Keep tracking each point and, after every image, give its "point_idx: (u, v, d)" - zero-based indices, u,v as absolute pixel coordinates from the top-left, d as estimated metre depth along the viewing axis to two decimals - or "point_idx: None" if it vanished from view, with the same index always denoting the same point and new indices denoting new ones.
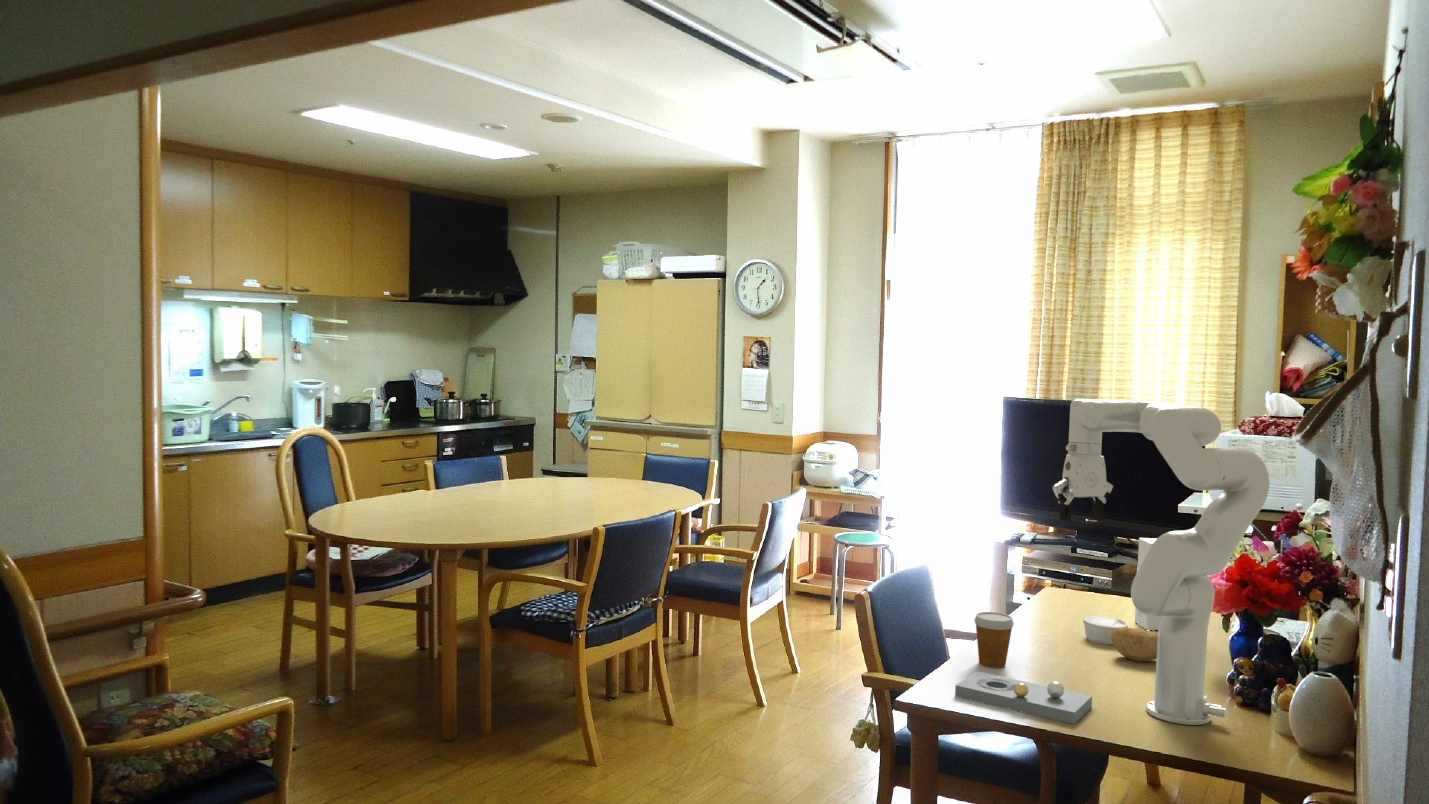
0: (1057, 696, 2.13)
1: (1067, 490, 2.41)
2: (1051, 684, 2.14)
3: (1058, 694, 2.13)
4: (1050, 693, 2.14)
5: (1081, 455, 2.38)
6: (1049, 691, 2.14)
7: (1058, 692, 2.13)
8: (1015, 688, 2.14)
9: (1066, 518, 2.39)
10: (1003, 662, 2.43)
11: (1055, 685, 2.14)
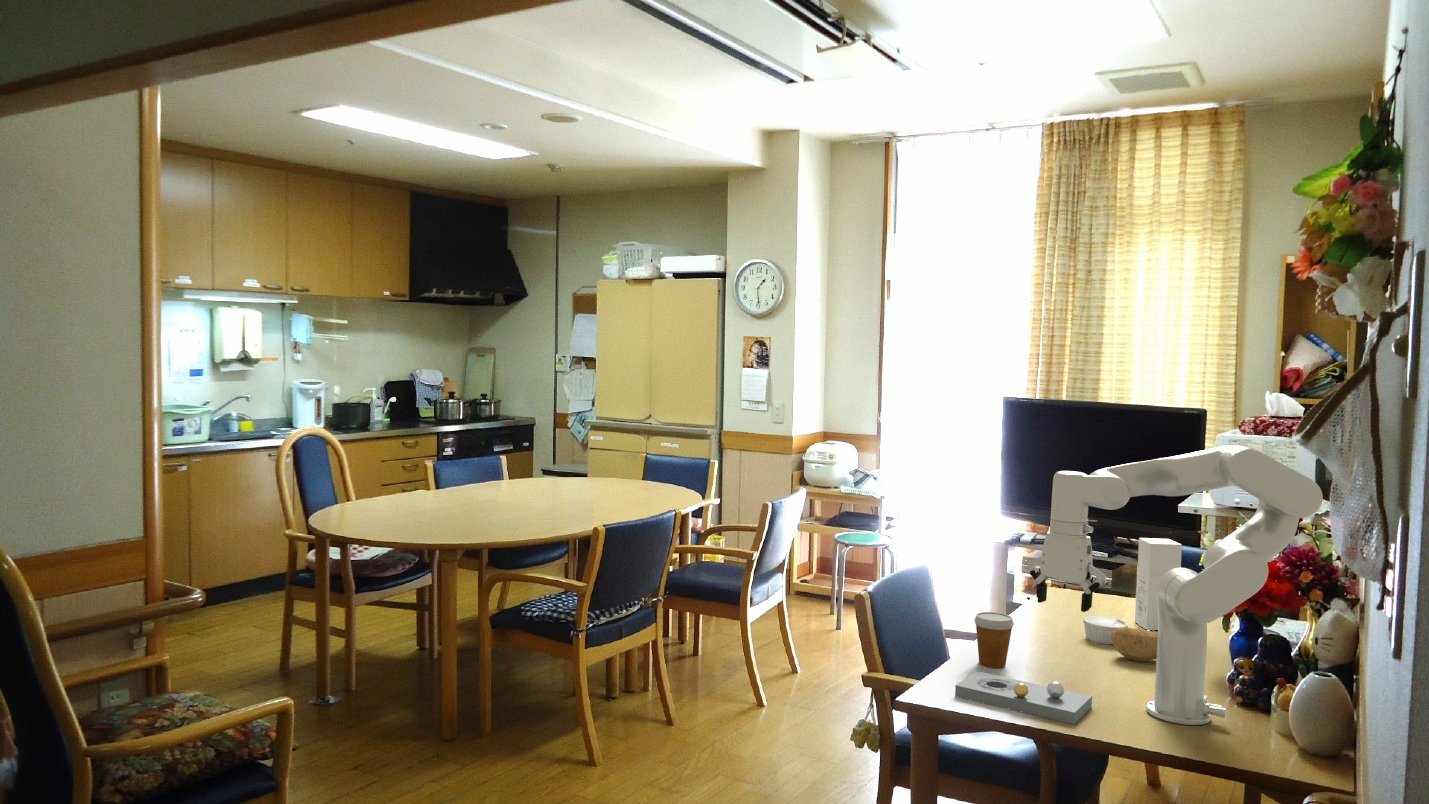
0: (1057, 696, 2.13)
1: None
2: (1051, 684, 2.14)
3: (1058, 694, 2.13)
4: (1050, 693, 2.14)
5: None
6: (1049, 691, 2.14)
7: (1058, 692, 2.13)
8: (1015, 688, 2.14)
9: (1088, 607, 2.13)
10: (1003, 662, 2.43)
11: (1055, 685, 2.14)
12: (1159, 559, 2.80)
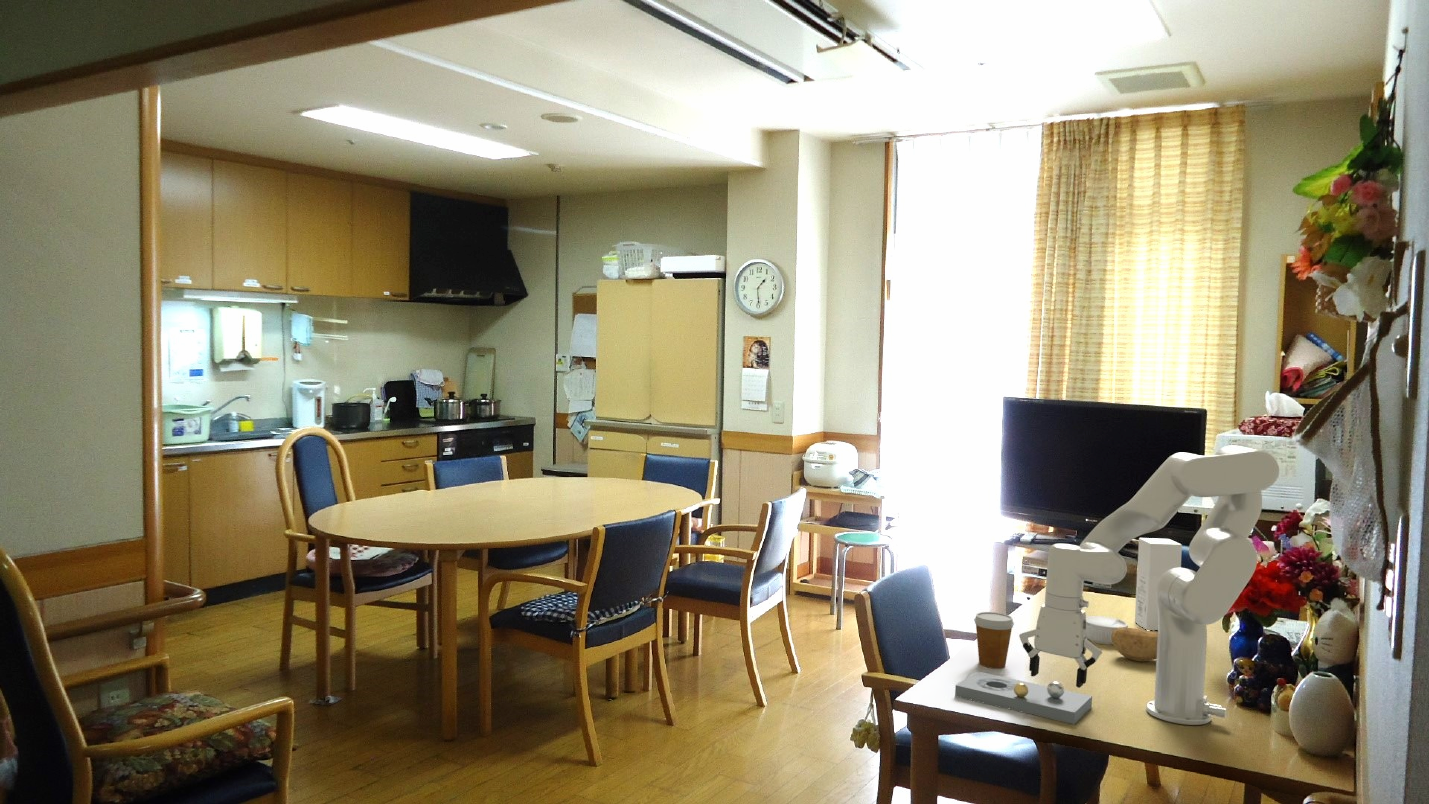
0: (1057, 696, 2.13)
1: None
2: (1051, 684, 2.14)
3: (1058, 694, 2.13)
4: (1050, 693, 2.14)
5: None
6: (1049, 691, 2.14)
7: (1058, 692, 2.13)
8: (1015, 688, 2.14)
9: (1082, 682, 2.12)
10: (1003, 662, 2.43)
11: (1055, 685, 2.14)
12: (1159, 559, 2.80)
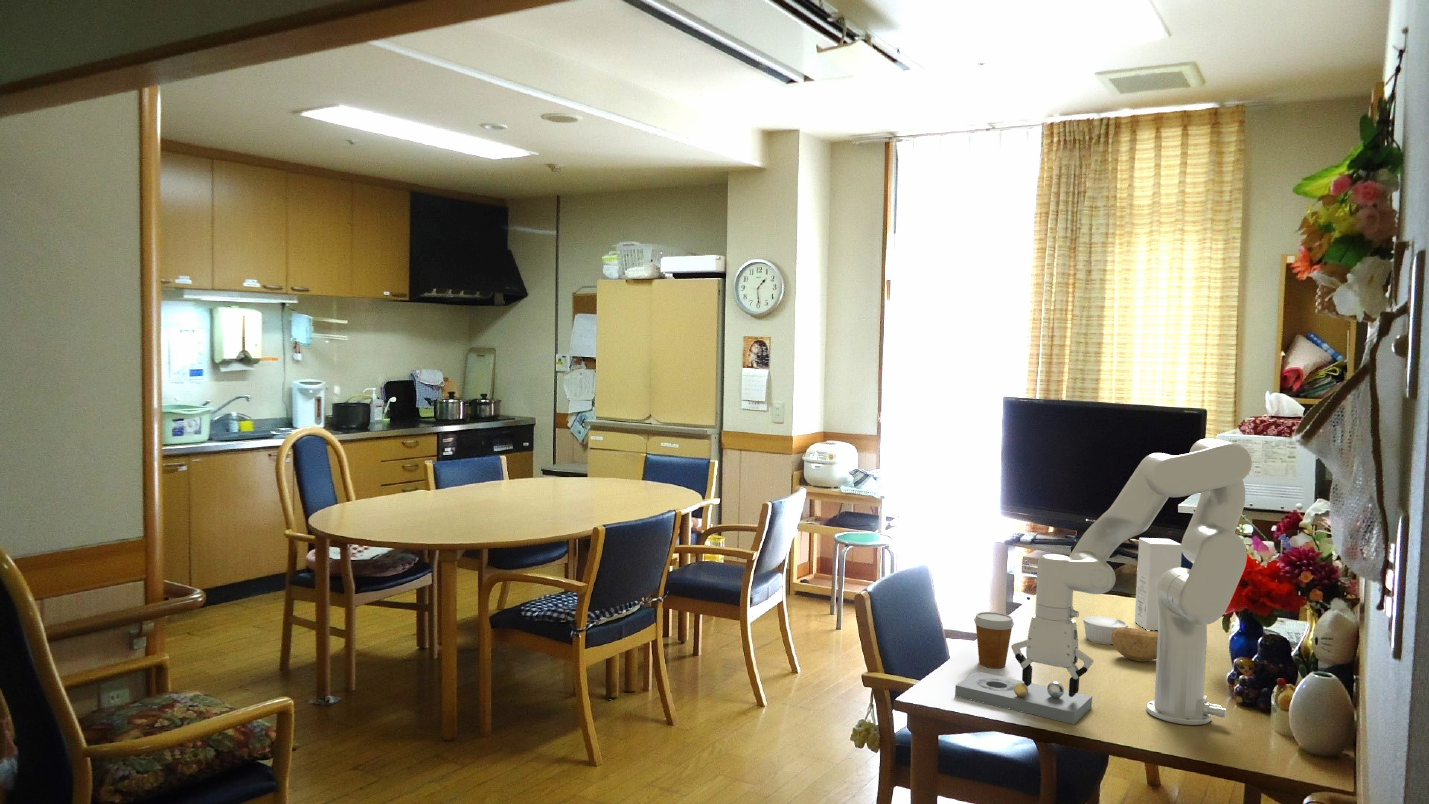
0: (1057, 696, 2.13)
1: None
2: (1051, 684, 2.14)
3: (1058, 694, 2.13)
4: (1050, 693, 2.14)
5: None
6: (1049, 691, 2.14)
7: (1058, 692, 2.13)
8: (1015, 688, 2.14)
9: None
10: (1003, 662, 2.43)
11: (1055, 685, 2.14)
12: (1159, 559, 2.80)
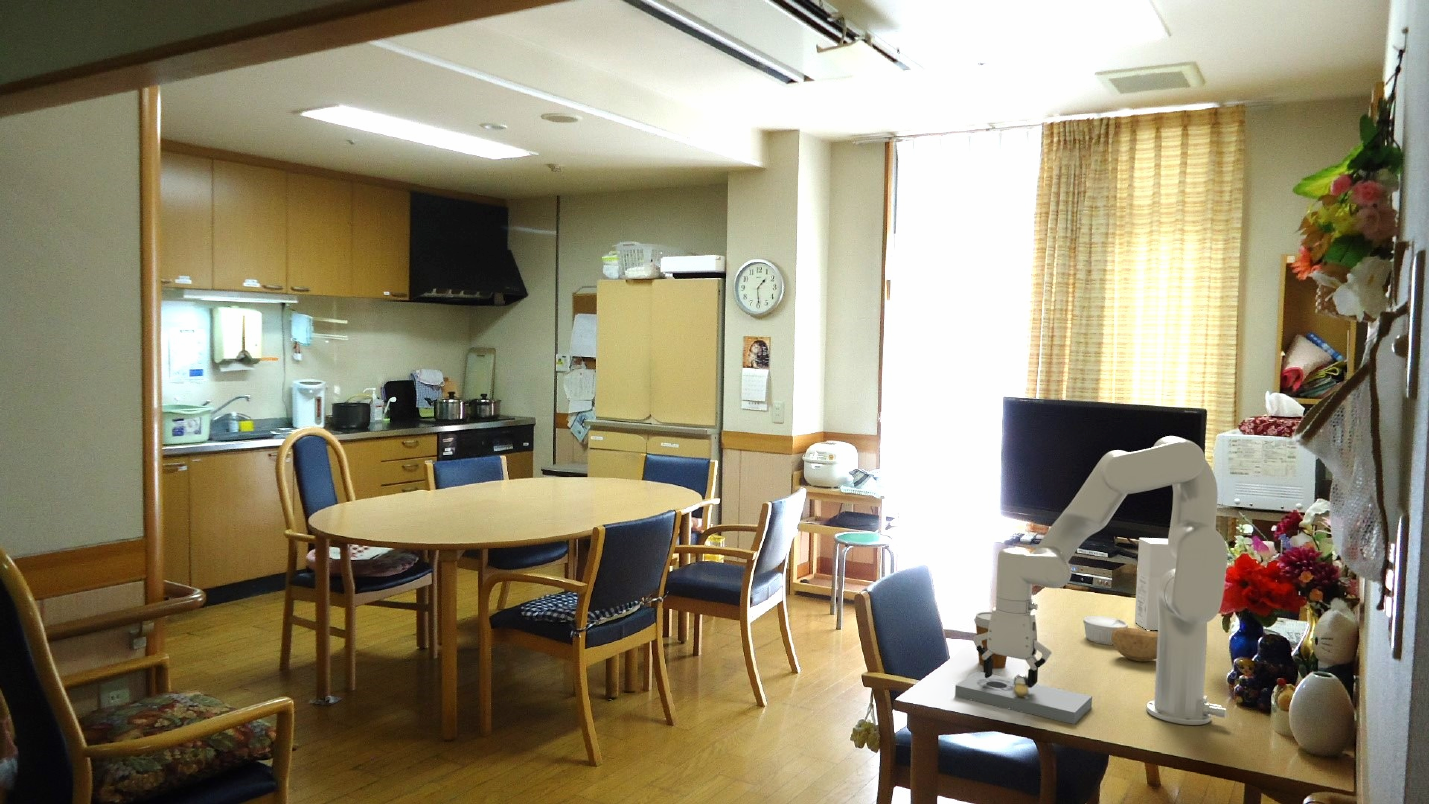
0: (1014, 683, 2.19)
1: None
2: (1026, 685, 2.18)
3: None
4: (1018, 680, 2.18)
5: None
6: (1020, 680, 2.18)
7: None
8: (1015, 688, 2.14)
9: (1034, 682, 2.18)
10: (1003, 662, 2.43)
11: None
12: (1159, 559, 2.80)
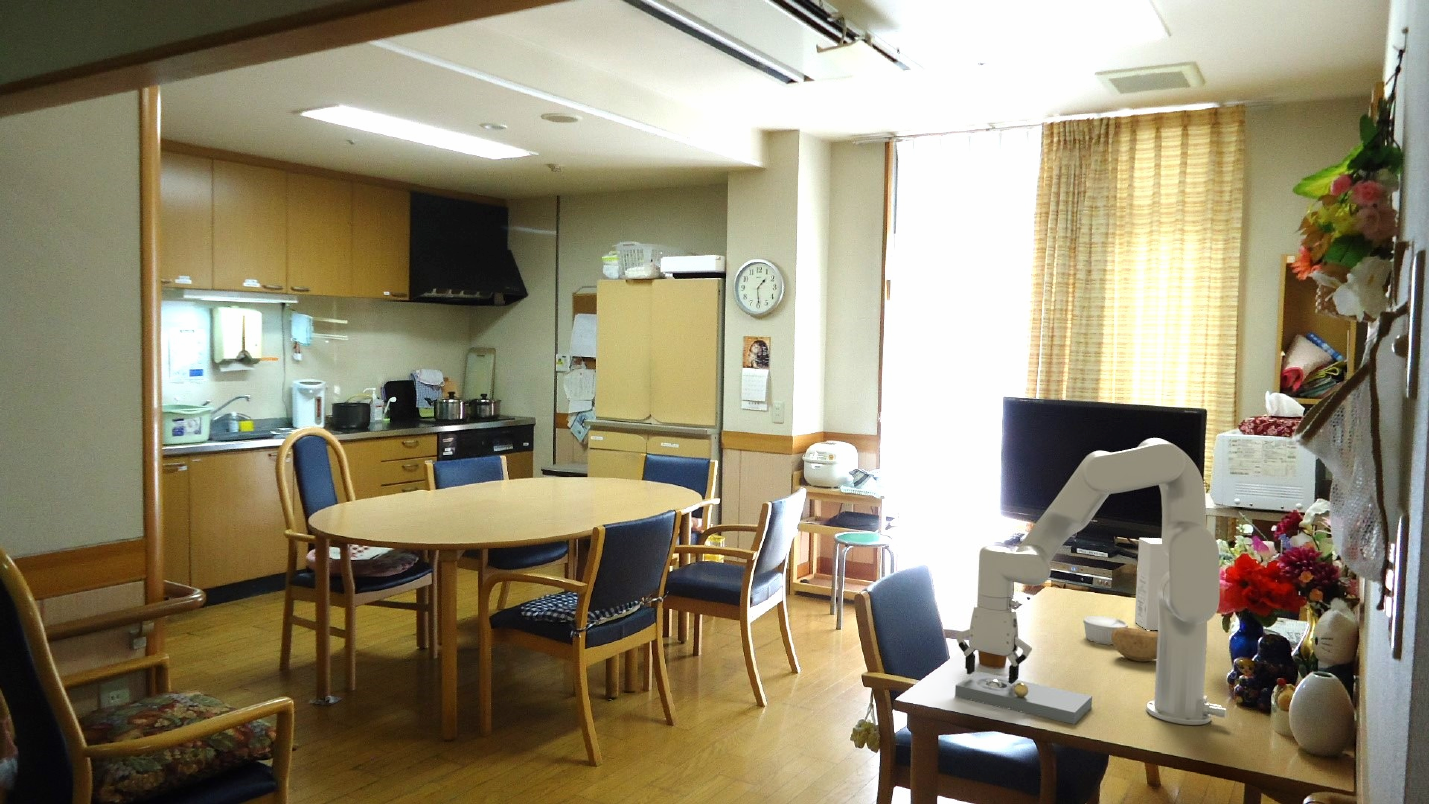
0: (994, 682, 2.22)
1: None
2: None
3: (992, 682, 2.22)
4: None
5: None
6: None
7: (989, 682, 2.22)
8: (1015, 688, 2.14)
9: None
10: (1003, 662, 2.43)
11: None
12: (1159, 559, 2.80)
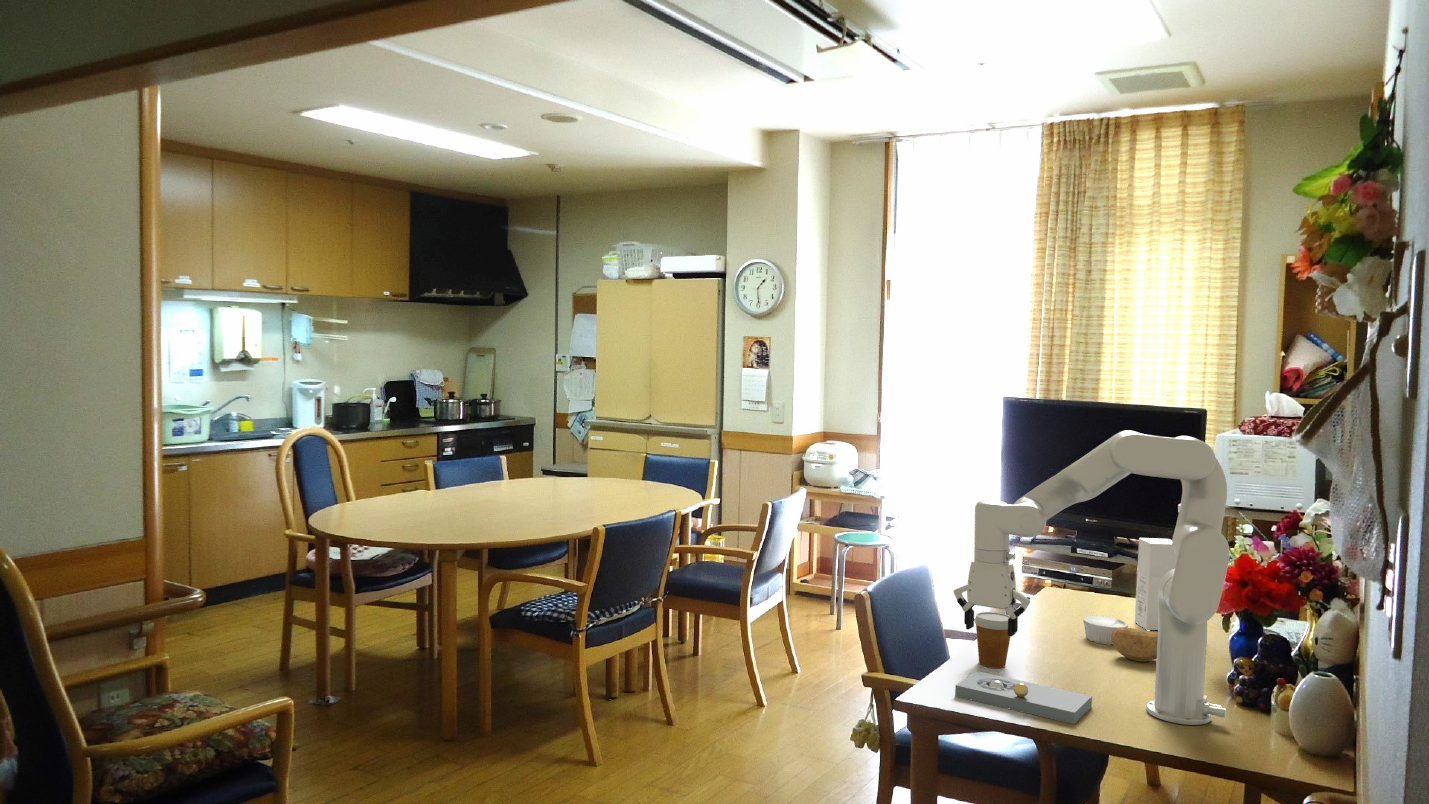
0: (997, 684, 2.21)
1: None
2: None
3: (995, 684, 2.21)
4: None
5: None
6: None
7: (993, 684, 2.21)
8: (1015, 688, 2.14)
9: (1014, 632, 2.21)
10: (1003, 662, 2.43)
11: None
12: (1159, 559, 2.80)
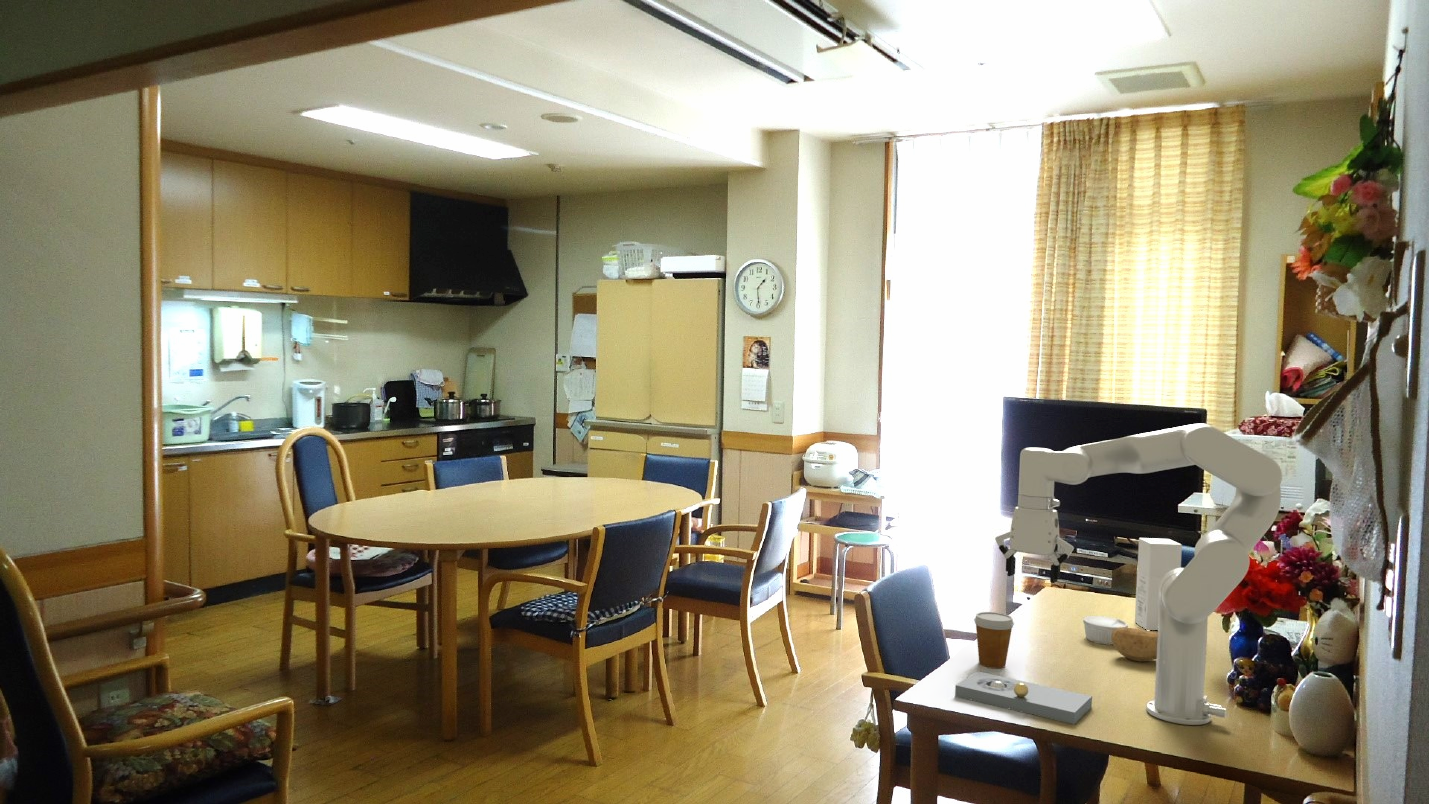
0: (999, 686, 2.20)
1: None
2: None
3: (996, 685, 2.21)
4: None
5: None
6: None
7: (994, 685, 2.21)
8: (1015, 688, 2.14)
9: (1056, 579, 2.21)
10: (1003, 662, 2.43)
11: None
12: (1159, 559, 2.80)
